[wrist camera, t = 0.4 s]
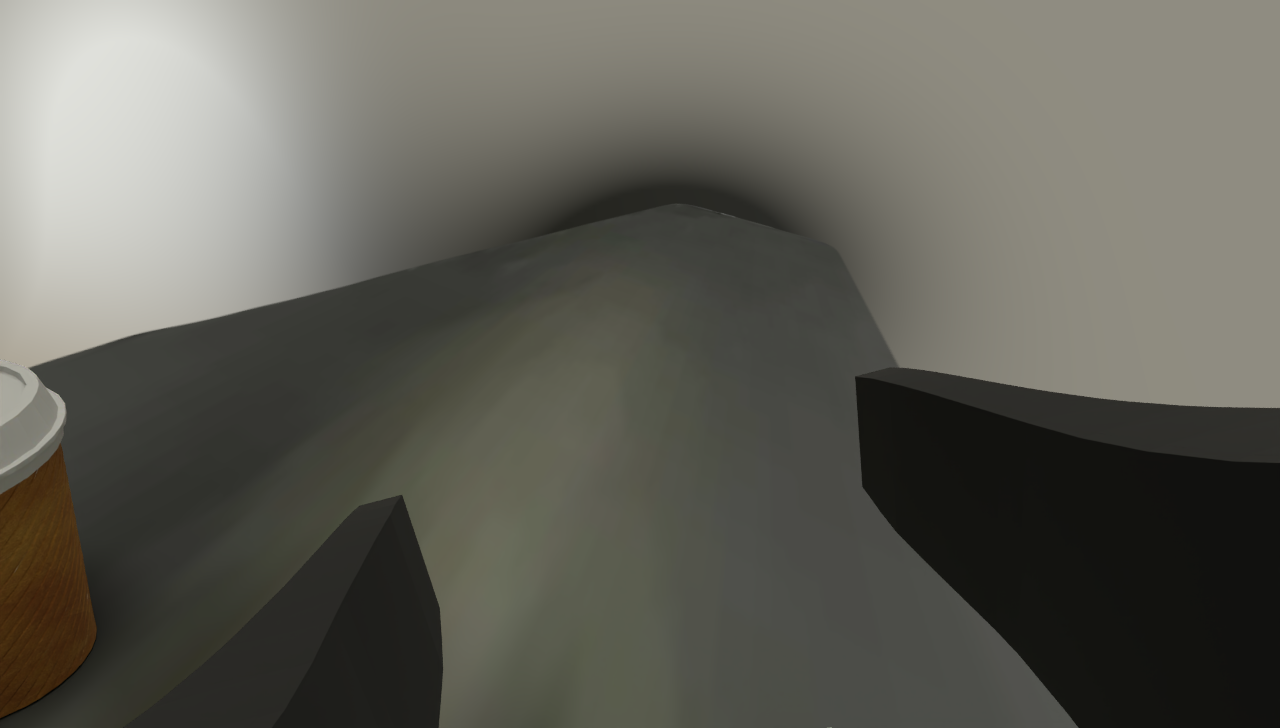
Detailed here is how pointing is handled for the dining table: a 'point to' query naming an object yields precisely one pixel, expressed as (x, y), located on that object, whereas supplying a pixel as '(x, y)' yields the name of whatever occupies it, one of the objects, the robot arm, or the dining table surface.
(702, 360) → the dining table surface
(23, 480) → the disposable coffee cup
